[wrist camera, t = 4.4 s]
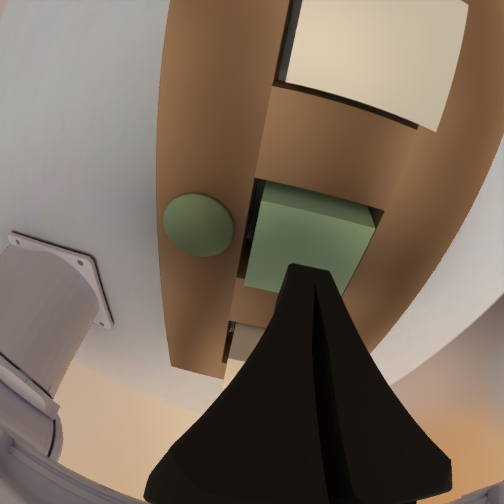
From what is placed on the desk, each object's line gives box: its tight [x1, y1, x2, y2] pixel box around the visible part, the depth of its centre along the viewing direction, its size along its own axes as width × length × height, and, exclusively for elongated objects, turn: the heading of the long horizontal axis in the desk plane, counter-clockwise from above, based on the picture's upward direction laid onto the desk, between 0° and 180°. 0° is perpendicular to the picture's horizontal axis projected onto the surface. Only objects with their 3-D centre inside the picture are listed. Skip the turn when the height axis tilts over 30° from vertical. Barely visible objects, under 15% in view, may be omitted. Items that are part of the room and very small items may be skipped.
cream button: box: [222, 322, 266, 389], centre depth 16 cm, size 4×4×3 cm
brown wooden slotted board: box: [156, 0, 504, 379], centre depth 12 cm, size 12×26×3 cm, turn 171°
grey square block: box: [285, 0, 469, 132], centre depth 6 cm, size 4×4×3 cm
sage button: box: [244, 180, 376, 295], centre depth 12 cm, size 4×4×3 cm
